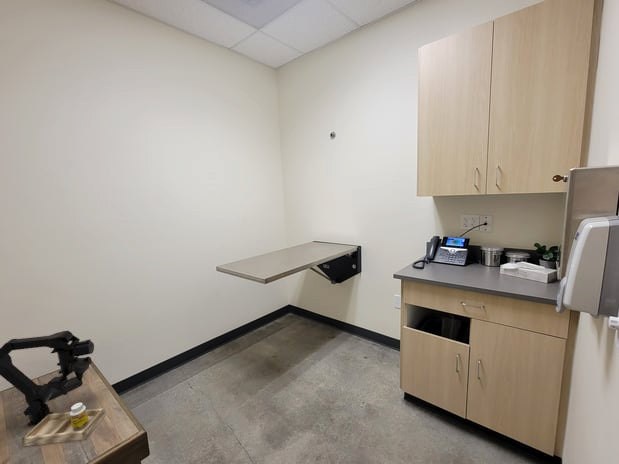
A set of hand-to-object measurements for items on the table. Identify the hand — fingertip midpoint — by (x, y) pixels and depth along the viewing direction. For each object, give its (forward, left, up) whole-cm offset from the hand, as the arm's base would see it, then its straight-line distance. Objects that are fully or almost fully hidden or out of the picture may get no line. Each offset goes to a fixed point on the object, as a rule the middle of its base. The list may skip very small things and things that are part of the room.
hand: (73, 387), depth 132 cm
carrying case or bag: (-19, +17, -13) cm, 29 cm away
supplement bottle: (+10, -12, -11) cm, 19 cm away
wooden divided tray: (+4, -12, -12) cm, 17 cm away
